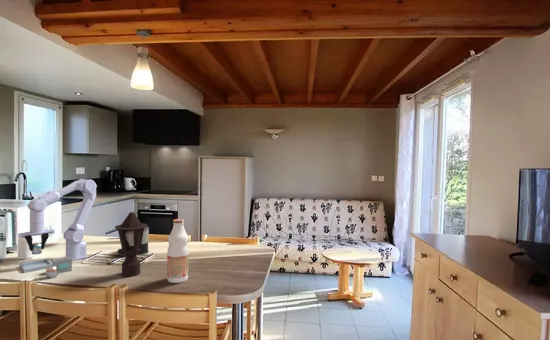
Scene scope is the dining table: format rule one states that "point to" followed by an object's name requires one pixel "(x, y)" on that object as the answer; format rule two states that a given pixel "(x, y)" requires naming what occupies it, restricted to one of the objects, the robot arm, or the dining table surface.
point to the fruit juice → (177, 253)
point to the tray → (35, 265)
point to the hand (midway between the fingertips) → (36, 249)
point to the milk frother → (143, 244)
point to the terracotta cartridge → (51, 271)
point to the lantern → (131, 243)
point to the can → (24, 249)
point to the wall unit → (63, 264)
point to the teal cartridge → (36, 248)
